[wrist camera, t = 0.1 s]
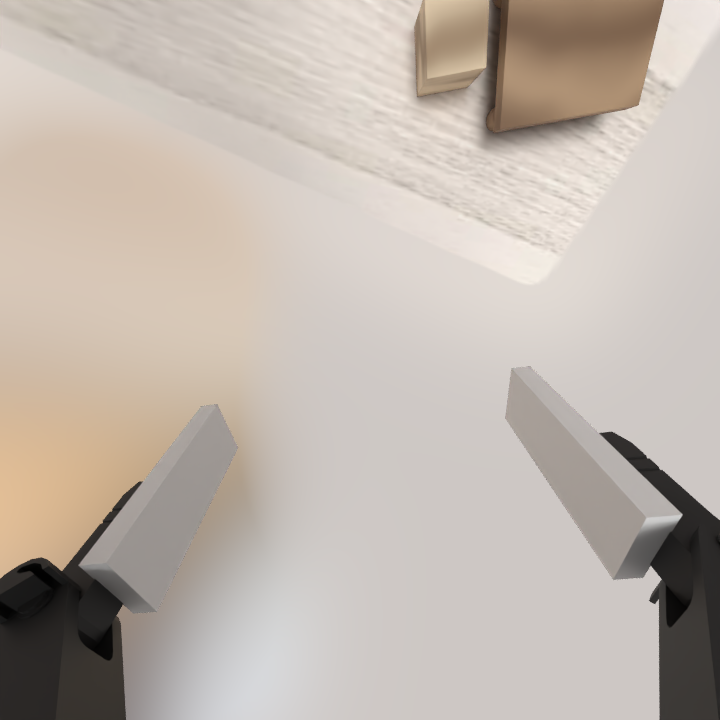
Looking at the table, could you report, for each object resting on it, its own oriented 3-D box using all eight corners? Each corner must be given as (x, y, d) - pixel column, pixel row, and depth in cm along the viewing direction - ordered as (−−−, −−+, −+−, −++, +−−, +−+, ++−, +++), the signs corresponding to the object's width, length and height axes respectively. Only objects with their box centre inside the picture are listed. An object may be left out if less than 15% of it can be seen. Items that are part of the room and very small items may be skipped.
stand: (487, -30, 25) (514, -78, 21) (633, -62, 24) (692, -119, 20) (480, 139, 31) (500, 129, 27) (598, 118, 30) (638, 105, 26)
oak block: (414, 27, 27) (424, -7, 23) (468, 16, 27) (490, -21, 22) (417, 97, 29) (427, 78, 25) (467, 87, 29) (486, 67, 25)
